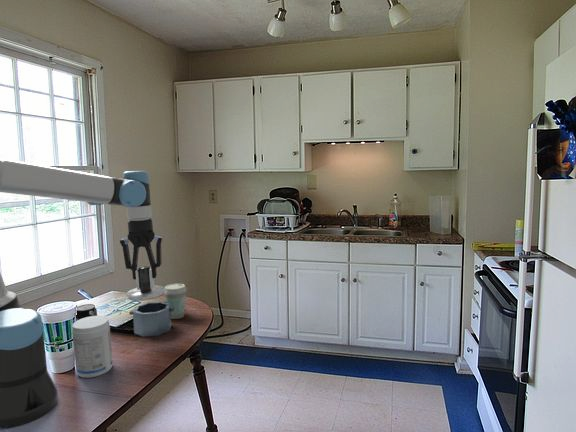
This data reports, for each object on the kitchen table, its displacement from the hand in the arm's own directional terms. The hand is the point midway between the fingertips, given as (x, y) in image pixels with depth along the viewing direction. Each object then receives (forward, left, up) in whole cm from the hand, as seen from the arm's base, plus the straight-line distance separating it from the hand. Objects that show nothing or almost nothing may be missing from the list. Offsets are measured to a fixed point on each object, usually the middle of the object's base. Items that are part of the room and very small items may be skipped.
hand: (145, 287), depth 134 cm
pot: (+7, 0, -17) cm, 19 cm away
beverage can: (+1, +20, -18) cm, 27 cm away
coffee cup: (+18, -7, -18) cm, 26 cm away
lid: (0, 0, -2) cm, 2 cm away
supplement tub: (-20, +12, -18) cm, 29 cm away
